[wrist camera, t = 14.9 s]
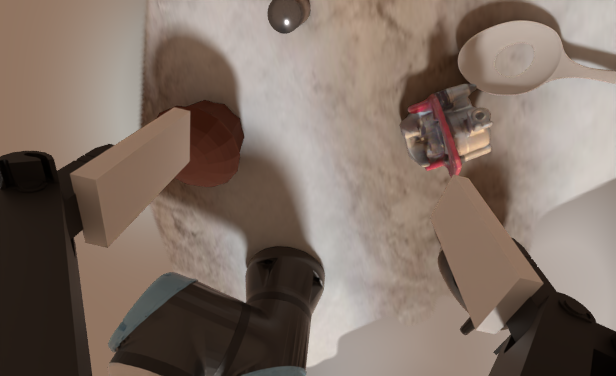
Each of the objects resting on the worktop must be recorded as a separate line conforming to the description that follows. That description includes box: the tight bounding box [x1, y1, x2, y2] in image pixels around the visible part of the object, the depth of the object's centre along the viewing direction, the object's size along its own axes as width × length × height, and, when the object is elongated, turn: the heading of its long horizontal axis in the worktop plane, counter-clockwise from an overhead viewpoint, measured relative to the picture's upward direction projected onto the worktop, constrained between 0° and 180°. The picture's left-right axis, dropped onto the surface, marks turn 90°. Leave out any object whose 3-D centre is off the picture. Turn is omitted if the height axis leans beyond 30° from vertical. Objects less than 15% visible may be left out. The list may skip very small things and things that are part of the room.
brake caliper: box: [400, 84, 493, 178], centre depth 37 cm, size 11×11×12 cm
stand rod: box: [268, 0, 310, 33], centre depth 32 cm, size 3×3×9 cm
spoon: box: [458, 20, 616, 96], centre depth 35 cm, size 35×8×3 cm, turn 82°
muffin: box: [156, 100, 244, 187], centre depth 41 cm, size 12×11×10 cm
